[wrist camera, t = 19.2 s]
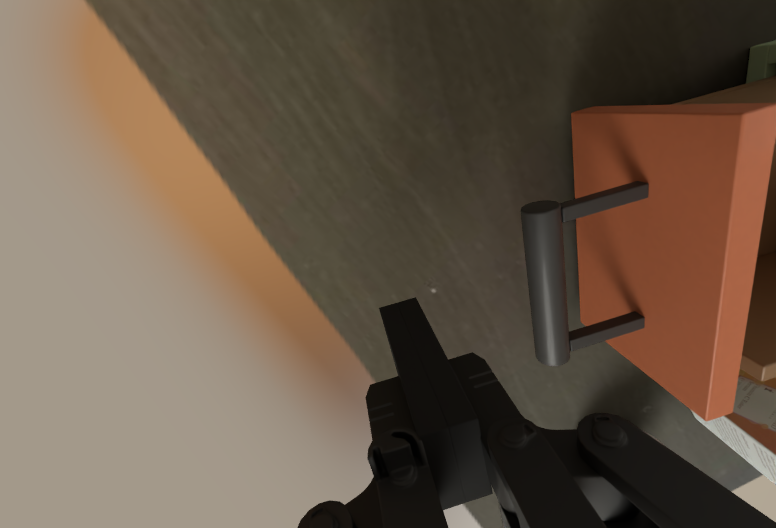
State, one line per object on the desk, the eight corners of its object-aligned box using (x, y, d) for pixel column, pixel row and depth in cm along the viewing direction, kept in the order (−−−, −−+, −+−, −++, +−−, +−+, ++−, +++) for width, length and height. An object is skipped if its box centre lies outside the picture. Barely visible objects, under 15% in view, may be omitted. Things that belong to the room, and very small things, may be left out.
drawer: (500, 346, 22) (590, 462, 15) (469, 140, 18) (577, 160, 10) (789, 256, 23) (1003, 321, 16) (831, 40, 19) (1156, -5, 11)
